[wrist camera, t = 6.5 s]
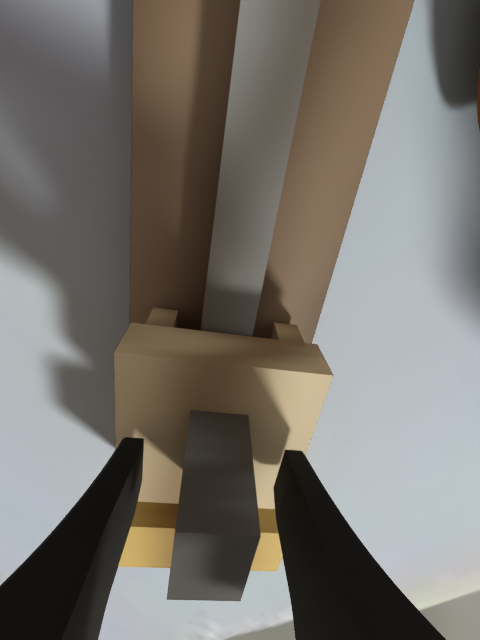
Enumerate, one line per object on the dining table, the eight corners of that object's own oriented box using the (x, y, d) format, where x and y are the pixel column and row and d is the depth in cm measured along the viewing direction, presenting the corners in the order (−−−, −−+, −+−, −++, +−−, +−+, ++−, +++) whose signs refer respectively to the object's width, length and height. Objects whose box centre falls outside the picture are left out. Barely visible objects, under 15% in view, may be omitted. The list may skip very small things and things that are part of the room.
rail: (474, -281, 8) (869, -974, 3) (263, 471, 20) (276, 571, 15) (154, -401, 7) (5, -1637, 2) (134, 462, 19) (104, 565, 14)
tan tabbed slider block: (308, 326, 14) (391, 486, 7) (274, 444, 17) (309, 635, 10) (140, 305, 13) (49, 463, 6) (137, 433, 16) (74, 632, 9)
